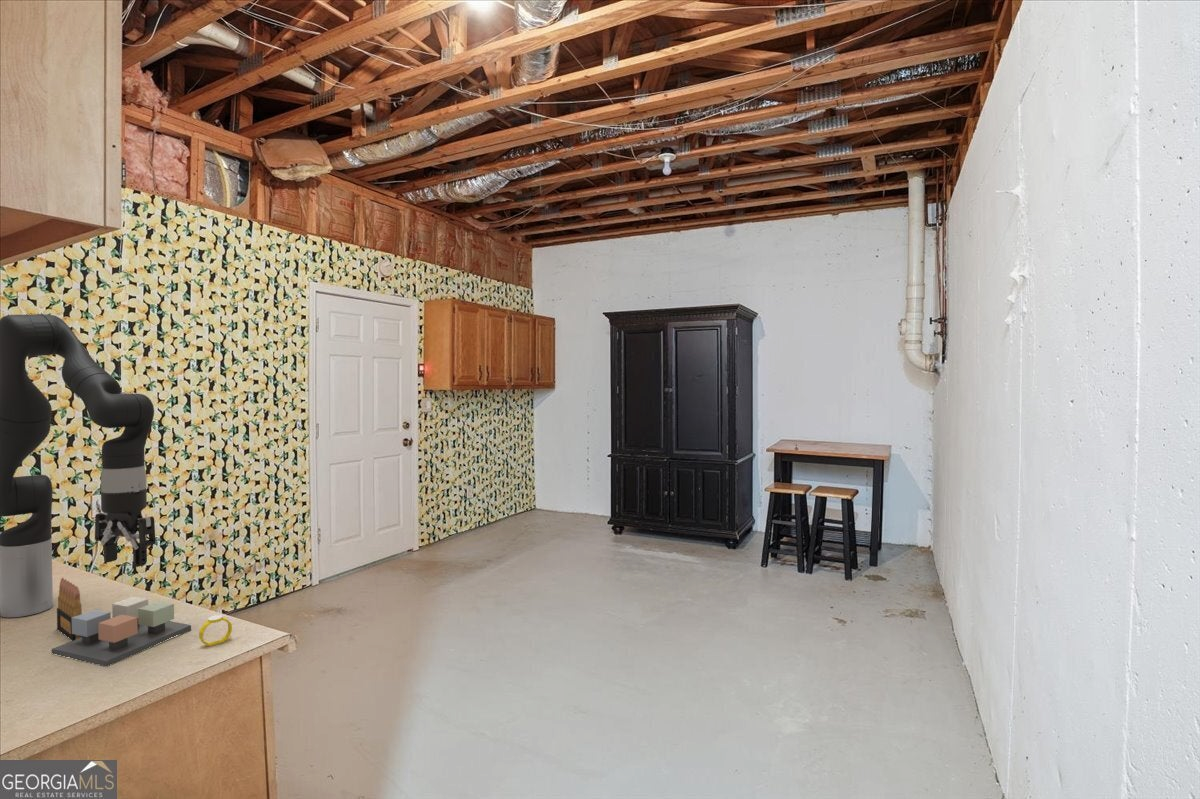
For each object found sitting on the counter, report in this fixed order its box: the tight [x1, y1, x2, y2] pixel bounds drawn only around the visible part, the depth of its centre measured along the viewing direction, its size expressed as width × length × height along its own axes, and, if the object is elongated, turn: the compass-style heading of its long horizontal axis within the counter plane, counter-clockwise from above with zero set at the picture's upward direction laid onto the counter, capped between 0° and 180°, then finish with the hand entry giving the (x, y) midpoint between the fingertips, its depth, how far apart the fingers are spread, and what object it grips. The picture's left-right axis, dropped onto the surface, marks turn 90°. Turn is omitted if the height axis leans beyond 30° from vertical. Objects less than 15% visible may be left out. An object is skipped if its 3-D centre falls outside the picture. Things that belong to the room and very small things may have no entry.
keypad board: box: [51, 618, 192, 667], centre depth 130 cm, size 16×18×4 cm
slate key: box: [72, 609, 112, 637], centre depth 127 cm, size 5×5×4 cm
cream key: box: [111, 596, 149, 618], centre depth 135 cm, size 5×5×4 cm
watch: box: [198, 614, 233, 647], centre depth 130 cm, size 6×3×6 cm, turn 139°
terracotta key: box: [98, 615, 138, 643], centre depth 125 cm, size 5×5×4 cm
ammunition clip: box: [56, 577, 83, 641], centre depth 133 cm, size 11×2×12 cm, turn 57°
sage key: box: [138, 600, 175, 627], centre depth 132 cm, size 5×5×4 cm
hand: (125, 563), depth 125 cm, fingers open, 8 cm apart
